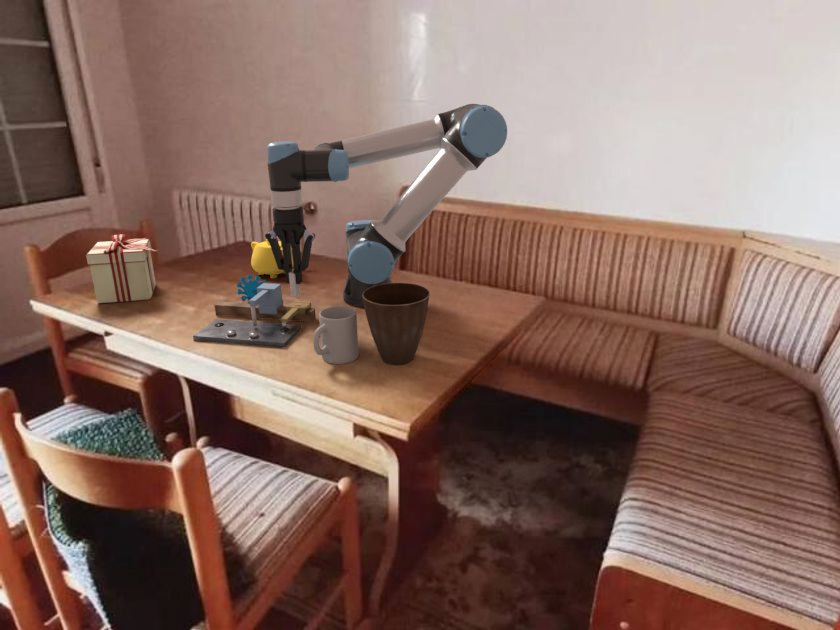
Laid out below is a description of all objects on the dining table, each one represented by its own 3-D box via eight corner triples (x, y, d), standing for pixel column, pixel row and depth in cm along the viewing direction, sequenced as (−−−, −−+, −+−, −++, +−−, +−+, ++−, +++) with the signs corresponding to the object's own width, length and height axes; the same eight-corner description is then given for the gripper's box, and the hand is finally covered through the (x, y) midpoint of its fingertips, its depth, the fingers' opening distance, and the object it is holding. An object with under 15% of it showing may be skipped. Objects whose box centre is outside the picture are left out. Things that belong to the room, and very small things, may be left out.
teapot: (298, 278, 189) (295, 242, 185) (252, 281, 186) (248, 245, 182) (296, 265, 202) (293, 232, 197) (253, 268, 199) (249, 234, 194)
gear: (243, 305, 162) (233, 274, 165) (237, 315, 166) (227, 285, 169) (280, 301, 169) (270, 272, 172) (273, 311, 173) (263, 282, 176)
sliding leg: (283, 309, 159) (281, 283, 156) (263, 327, 147) (260, 300, 145) (266, 307, 160) (263, 282, 157) (245, 325, 148) (241, 299, 146)
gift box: (166, 297, 173) (155, 241, 166) (96, 306, 167) (83, 248, 160) (166, 280, 187) (157, 228, 181) (102, 288, 181) (90, 234, 175)
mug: (339, 345, 141) (336, 303, 137) (366, 354, 137) (364, 310, 133) (303, 363, 132) (299, 319, 128) (330, 373, 128) (327, 327, 124)
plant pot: (351, 362, 133) (348, 296, 127) (390, 339, 144) (388, 278, 138) (405, 379, 125) (404, 310, 119) (441, 353, 137) (442, 289, 131)
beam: (315, 318, 157) (315, 308, 156) (312, 322, 155) (311, 311, 154) (220, 311, 162) (218, 301, 161) (215, 315, 160) (214, 304, 159)
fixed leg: (311, 310, 158) (310, 302, 157) (293, 329, 146) (292, 320, 145) (294, 309, 159) (293, 300, 158) (274, 328, 147) (273, 318, 146)
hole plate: (301, 329, 150) (301, 322, 149) (284, 347, 140) (283, 340, 139) (216, 323, 154) (215, 316, 154) (193, 340, 144) (192, 332, 144)
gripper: (317, 204, 148) (323, 291, 156) (269, 202, 150) (278, 288, 159) (306, 210, 141) (313, 301, 150) (256, 208, 143) (266, 298, 152)
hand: (295, 295), depth 154 cm, fingers closed
